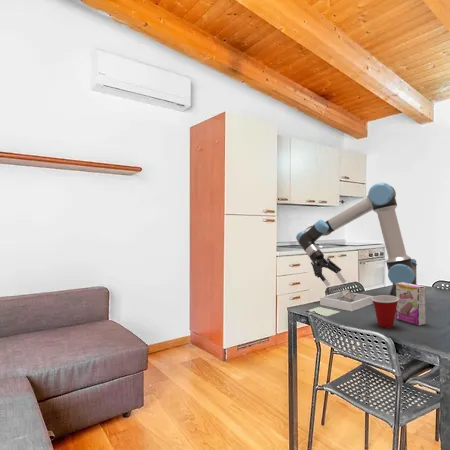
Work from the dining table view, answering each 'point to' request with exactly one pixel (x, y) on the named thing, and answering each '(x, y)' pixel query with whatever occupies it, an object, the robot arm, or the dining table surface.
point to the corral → (334, 302)
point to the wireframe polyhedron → (346, 296)
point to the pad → (324, 311)
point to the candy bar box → (411, 303)
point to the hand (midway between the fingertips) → (336, 283)
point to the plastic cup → (385, 309)
